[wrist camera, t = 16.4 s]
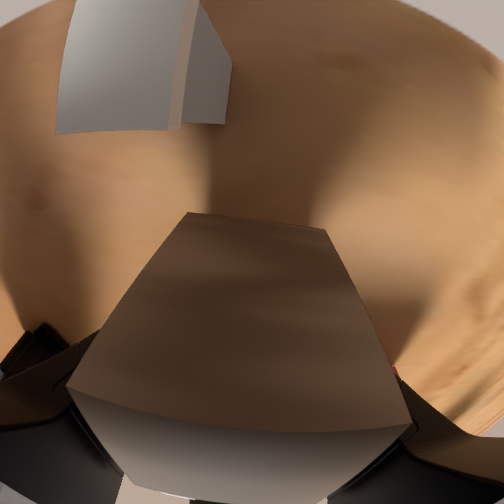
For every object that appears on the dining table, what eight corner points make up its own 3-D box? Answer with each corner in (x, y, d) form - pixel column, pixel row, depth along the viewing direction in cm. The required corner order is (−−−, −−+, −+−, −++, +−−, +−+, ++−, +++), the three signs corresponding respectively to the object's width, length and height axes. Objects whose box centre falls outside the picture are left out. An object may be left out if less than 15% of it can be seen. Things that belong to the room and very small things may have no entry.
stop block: (324, 229, 9) (413, 422, 3) (297, 334, 11) (315, 504, 5) (187, 211, 9) (65, 385, 3) (186, 320, 11) (134, 484, 5)
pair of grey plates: (210, 410, 17) (195, 501, 11) (182, 405, 17) (160, 494, 11) (238, 60, 9) (194, -39, 2) (186, 59, 9) (77, -14, 2)
